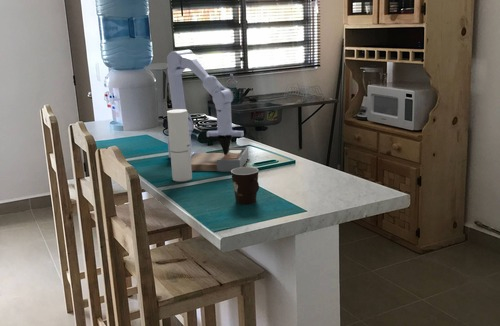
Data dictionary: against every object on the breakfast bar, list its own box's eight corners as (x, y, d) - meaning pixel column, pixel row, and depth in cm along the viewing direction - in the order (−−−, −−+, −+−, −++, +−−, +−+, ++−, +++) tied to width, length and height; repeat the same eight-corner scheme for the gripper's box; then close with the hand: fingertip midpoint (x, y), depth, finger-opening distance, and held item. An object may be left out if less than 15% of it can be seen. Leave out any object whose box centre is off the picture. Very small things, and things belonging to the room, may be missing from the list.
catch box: (217, 171, 203) (216, 160, 202) (227, 158, 220) (226, 147, 219) (240, 171, 201) (239, 160, 200) (248, 158, 219) (248, 147, 218)
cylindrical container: (195, 176, 198) (191, 109, 191) (185, 182, 191) (180, 113, 185) (179, 174, 200) (174, 108, 194) (168, 180, 194) (163, 112, 188)
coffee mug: (231, 197, 174) (230, 167, 171) (258, 195, 174) (257, 166, 172) (233, 209, 162) (232, 178, 160) (262, 207, 163) (260, 176, 160)
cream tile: (227, 159, 211) (227, 153, 211) (230, 156, 216) (229, 150, 215) (239, 159, 210) (239, 153, 210) (242, 156, 215) (241, 150, 214)
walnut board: (184, 170, 206) (184, 164, 205) (196, 158, 222) (195, 152, 221) (217, 170, 203) (217, 164, 203) (227, 158, 220) (226, 153, 219)
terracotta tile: (224, 164, 205) (223, 158, 204) (226, 160, 209) (225, 154, 209) (237, 164, 204) (236, 157, 203) (238, 160, 209) (238, 154, 208)
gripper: (203, 122, 207) (206, 156, 211) (240, 122, 205) (242, 156, 208) (208, 119, 214) (210, 151, 217) (243, 118, 211) (245, 152, 215)
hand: (226, 154), depth 213 cm, fingers closed
